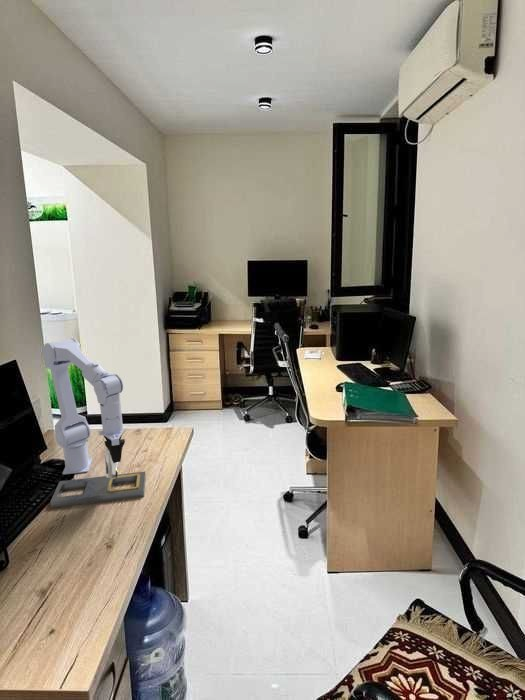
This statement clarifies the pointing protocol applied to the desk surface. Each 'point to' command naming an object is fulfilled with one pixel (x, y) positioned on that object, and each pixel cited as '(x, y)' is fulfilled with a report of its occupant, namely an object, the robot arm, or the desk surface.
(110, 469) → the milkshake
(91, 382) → the robot arm
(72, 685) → the desk surface
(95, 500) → the grey board with holes
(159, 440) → the desk surface
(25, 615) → the desk surface
